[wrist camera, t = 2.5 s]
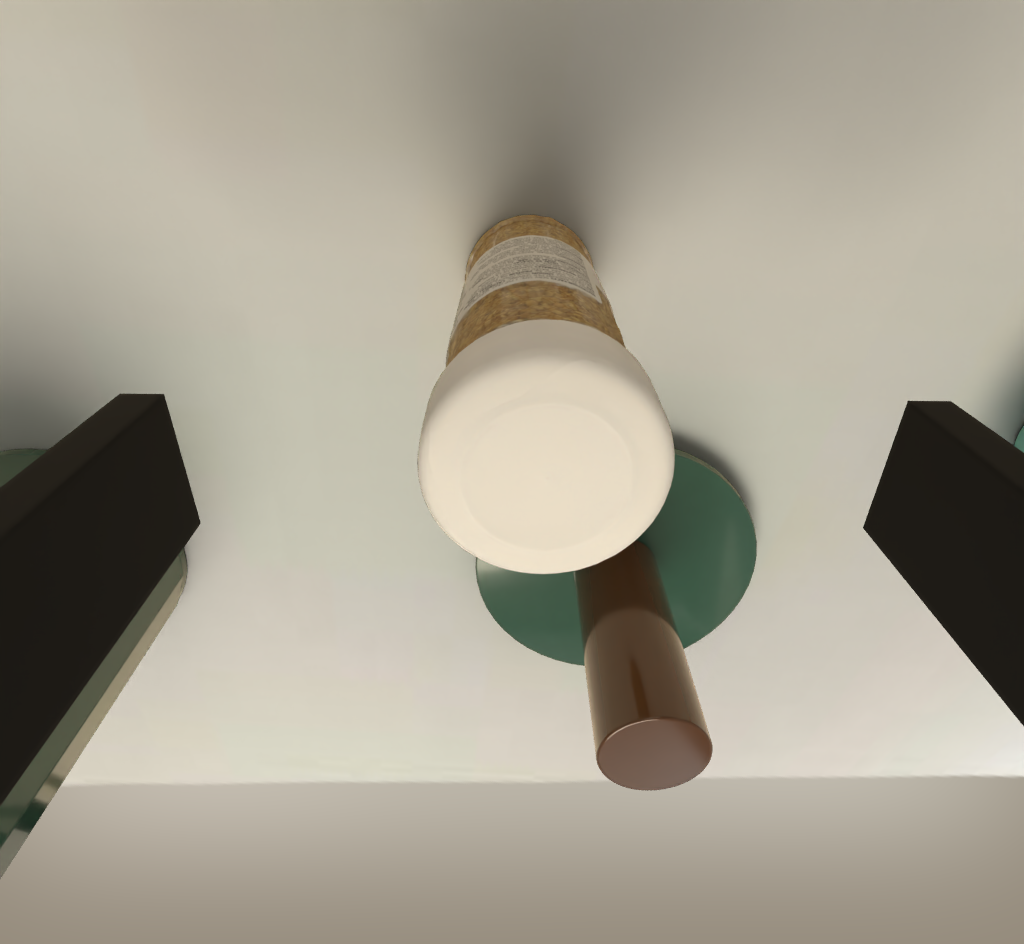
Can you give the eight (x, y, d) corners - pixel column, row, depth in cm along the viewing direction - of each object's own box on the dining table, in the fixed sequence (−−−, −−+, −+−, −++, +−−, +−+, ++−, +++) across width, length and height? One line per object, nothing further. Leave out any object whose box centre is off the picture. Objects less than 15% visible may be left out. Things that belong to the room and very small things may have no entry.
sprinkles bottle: (576, 351, 24) (637, 599, 12) (454, 330, 24) (400, 566, 12) (608, 223, 22) (719, 383, 10) (474, 197, 21) (429, 331, 10)
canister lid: (775, 434, 26) (911, 614, 17) (721, 650, 32) (800, 863, 23) (474, 431, 26) (454, 610, 17) (478, 647, 32) (466, 860, 23)
